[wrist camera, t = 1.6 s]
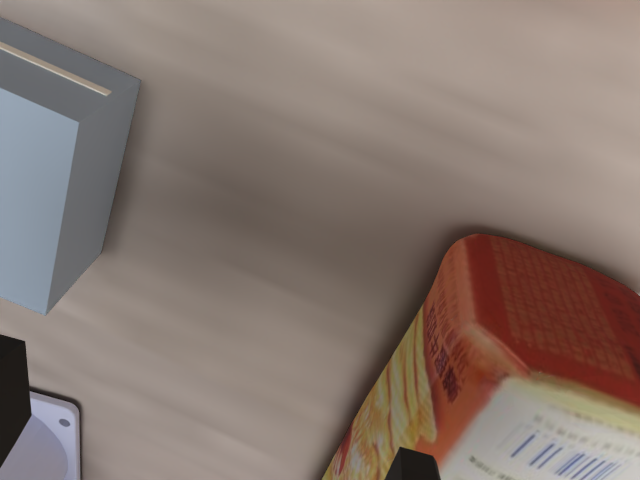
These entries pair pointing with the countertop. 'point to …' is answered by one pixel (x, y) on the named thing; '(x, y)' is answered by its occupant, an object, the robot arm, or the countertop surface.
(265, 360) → the countertop surface
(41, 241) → the striped grey-blue box
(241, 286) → the countertop surface
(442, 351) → the snack package
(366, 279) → the countertop surface
